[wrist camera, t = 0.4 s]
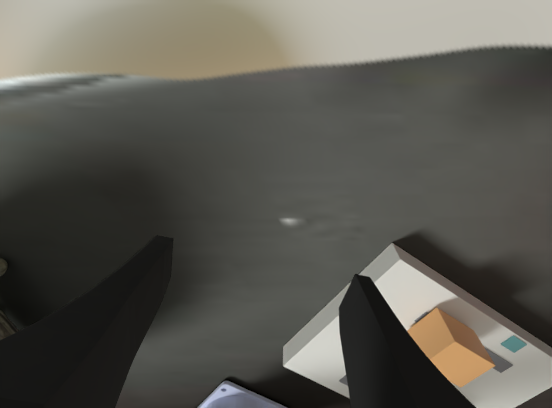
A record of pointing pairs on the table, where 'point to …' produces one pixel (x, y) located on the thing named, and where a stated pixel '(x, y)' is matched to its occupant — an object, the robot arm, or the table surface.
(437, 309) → the orange small block
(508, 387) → the switch panel
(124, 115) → the table surface
